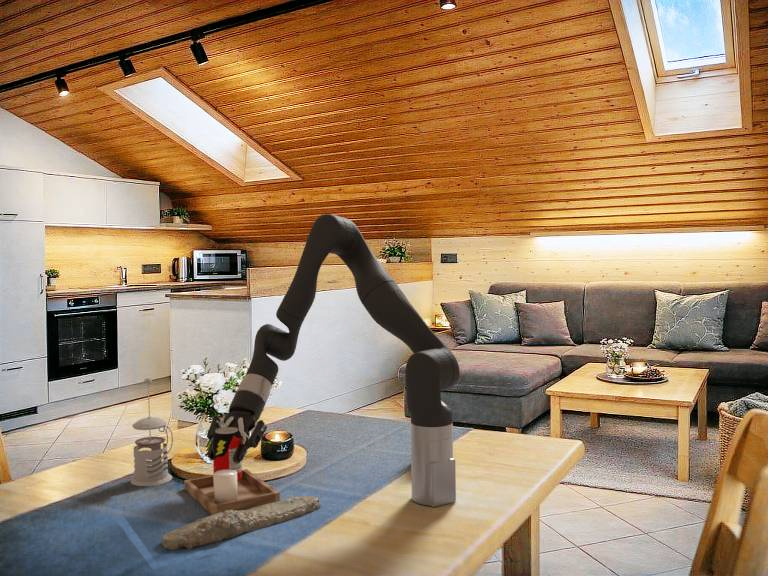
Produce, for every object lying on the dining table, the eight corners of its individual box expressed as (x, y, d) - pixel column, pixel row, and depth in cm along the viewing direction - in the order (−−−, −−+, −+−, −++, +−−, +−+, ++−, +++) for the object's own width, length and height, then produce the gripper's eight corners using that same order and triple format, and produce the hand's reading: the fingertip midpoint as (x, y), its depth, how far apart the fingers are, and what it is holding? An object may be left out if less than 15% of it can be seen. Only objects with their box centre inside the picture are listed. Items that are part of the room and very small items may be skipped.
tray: (279, 506, 160) (279, 492, 160) (212, 520, 152) (212, 506, 152) (246, 481, 177) (246, 469, 177) (184, 493, 169) (184, 480, 169)
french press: (121, 482, 177) (117, 380, 176) (157, 469, 188) (153, 372, 186) (151, 488, 173) (147, 383, 171) (186, 474, 183) (182, 374, 182)
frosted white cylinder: (241, 506, 157) (240, 473, 157) (219, 510, 155) (217, 478, 154) (233, 499, 162) (232, 468, 161) (211, 503, 159) (209, 472, 159)
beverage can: (233, 475, 172) (232, 424, 171) (247, 482, 167) (245, 430, 166) (209, 481, 168) (207, 429, 167) (221, 488, 163) (220, 435, 162)
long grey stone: (332, 521, 155) (305, 511, 163) (331, 495, 155) (305, 487, 163) (175, 560, 132) (153, 546, 140) (175, 531, 132) (152, 518, 140)
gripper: (219, 386, 176) (189, 448, 166) (270, 390, 170) (242, 455, 160) (232, 403, 181) (204, 464, 171) (283, 408, 175) (257, 471, 165)
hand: (223, 459), depth 165 cm, fingers closed on beverage can, 6 cm apart
